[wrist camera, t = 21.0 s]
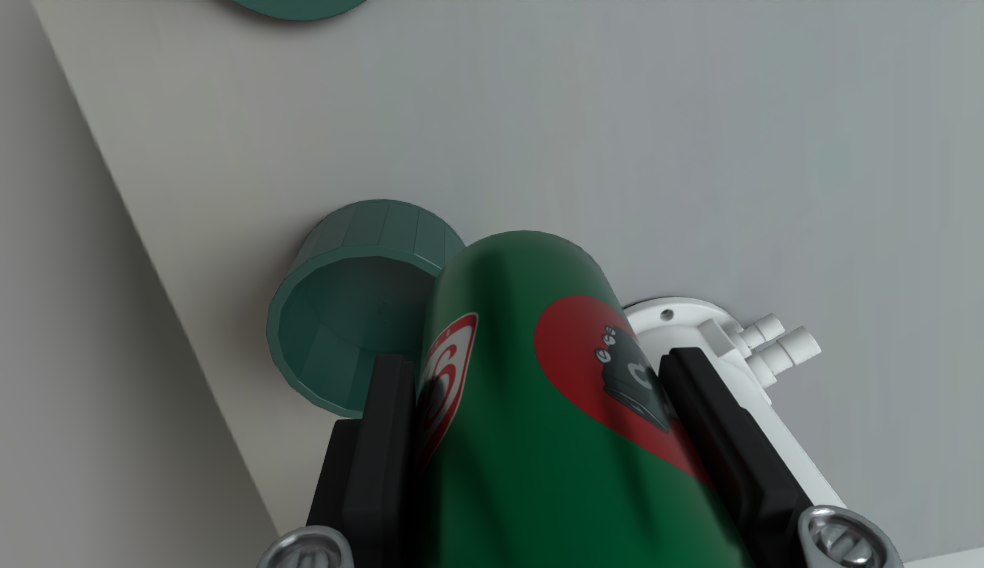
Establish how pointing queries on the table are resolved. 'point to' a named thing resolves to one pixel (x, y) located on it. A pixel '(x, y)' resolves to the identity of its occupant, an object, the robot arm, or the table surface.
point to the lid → (300, 8)
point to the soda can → (549, 426)
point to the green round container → (357, 299)
